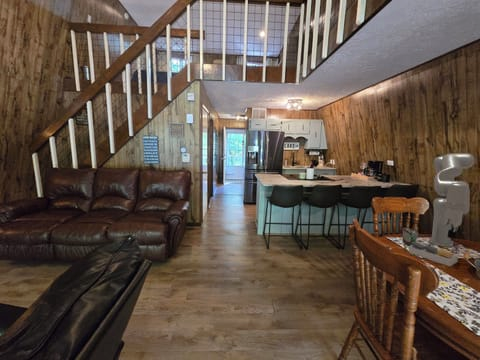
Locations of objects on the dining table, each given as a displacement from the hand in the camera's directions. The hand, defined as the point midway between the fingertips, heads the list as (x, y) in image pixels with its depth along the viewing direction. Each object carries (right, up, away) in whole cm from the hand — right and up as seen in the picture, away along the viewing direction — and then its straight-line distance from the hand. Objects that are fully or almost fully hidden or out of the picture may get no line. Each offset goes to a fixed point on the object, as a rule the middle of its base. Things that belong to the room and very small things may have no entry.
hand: (451, 237), depth 124 cm
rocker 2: (-5, -10, +9) cm, 14 cm away
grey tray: (-2, -14, +10) cm, 18 cm away
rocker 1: (-8, -9, +14) cm, 19 cm away
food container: (-1, -12, +28) cm, 31 cm away
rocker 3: (-1, -11, +3) cm, 11 cm away
